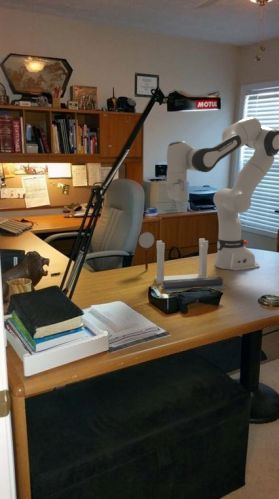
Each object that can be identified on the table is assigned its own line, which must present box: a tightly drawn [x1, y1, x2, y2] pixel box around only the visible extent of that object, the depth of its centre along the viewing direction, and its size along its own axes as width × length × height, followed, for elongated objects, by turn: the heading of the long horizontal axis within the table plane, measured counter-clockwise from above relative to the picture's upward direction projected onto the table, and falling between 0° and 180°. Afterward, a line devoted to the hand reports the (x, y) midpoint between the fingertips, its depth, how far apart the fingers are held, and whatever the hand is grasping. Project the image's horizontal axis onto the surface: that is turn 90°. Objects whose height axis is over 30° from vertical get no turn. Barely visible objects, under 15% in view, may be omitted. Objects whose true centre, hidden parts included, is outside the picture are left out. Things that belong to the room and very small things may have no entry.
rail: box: [162, 276, 224, 290], centre depth 175 cm, size 26×3×3 cm, turn 100°
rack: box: [154, 238, 210, 285], centre depth 183 cm, size 24×6×18 cm, turn 100°
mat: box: [161, 284, 227, 294], centre depth 175 cm, size 26×10×1 cm, turn 100°
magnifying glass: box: [137, 230, 156, 272], centre depth 198 cm, size 9×2×20 cm, turn 103°
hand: (176, 209), depth 183 cm, fingers open, 8 cm apart
